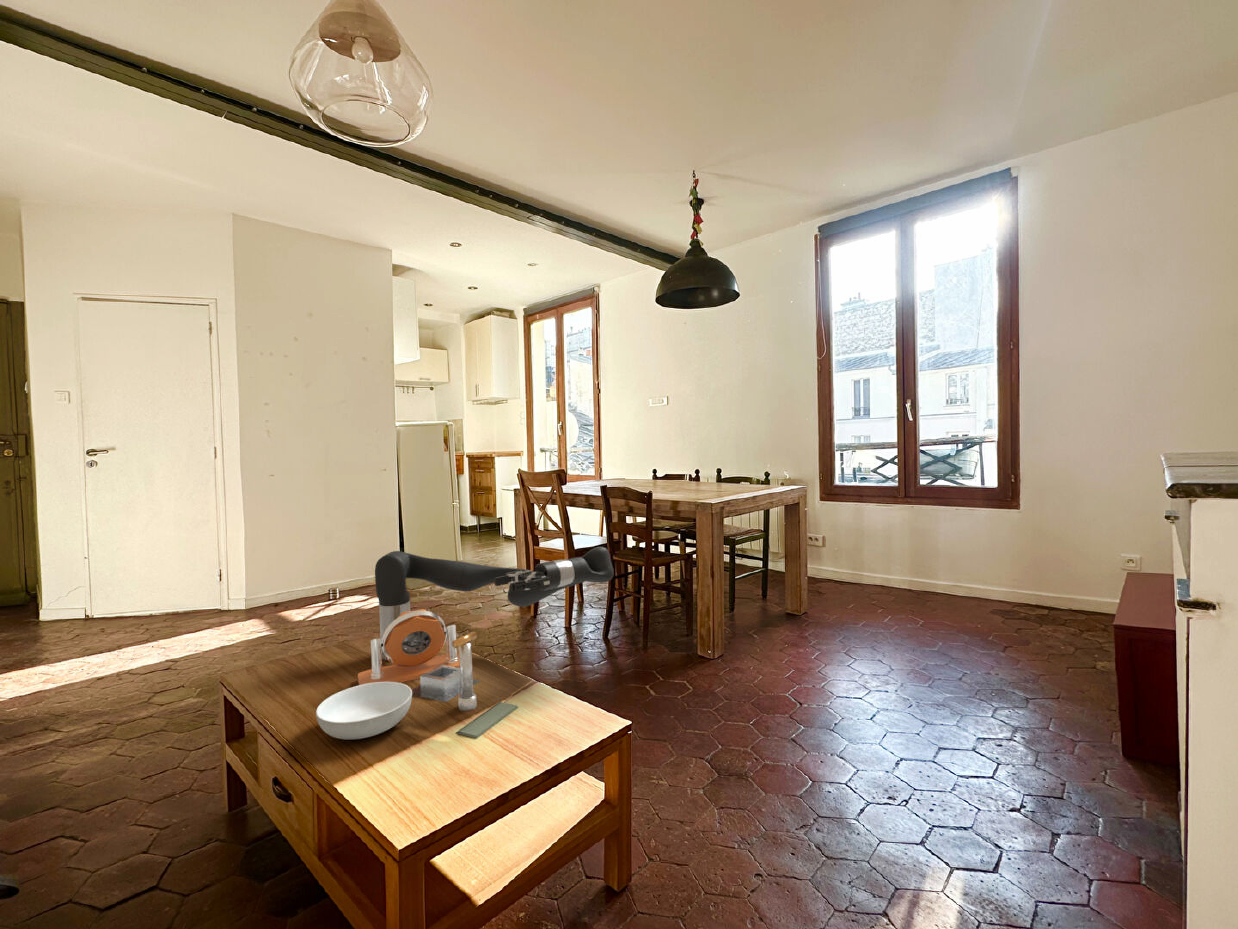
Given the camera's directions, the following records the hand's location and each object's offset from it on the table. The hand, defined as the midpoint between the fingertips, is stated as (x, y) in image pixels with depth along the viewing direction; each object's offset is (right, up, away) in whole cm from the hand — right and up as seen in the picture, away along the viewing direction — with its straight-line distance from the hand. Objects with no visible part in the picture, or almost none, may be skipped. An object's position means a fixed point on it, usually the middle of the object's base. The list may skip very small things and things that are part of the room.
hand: (502, 584), depth 148 cm
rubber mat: (-6, -31, -9) cm, 32 cm away
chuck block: (-17, -30, +6) cm, 35 cm away
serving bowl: (-30, -32, -13) cm, 45 cm away
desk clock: (-29, -31, +17) cm, 46 cm away
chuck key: (-8, -30, -6) cm, 31 cm away
